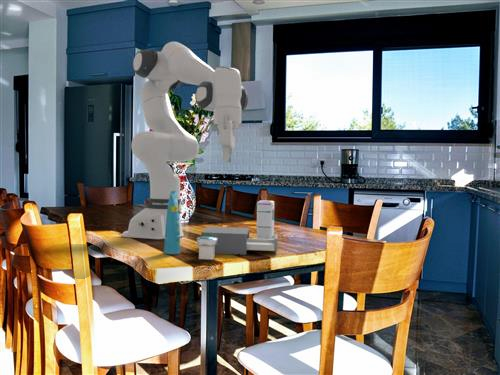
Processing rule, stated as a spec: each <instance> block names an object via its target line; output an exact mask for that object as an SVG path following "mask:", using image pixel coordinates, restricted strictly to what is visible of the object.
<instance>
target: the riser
mask: <svg viewBox="0 0 500 375" xmlns="http://www.w3.org/2000/svg"><path fill="white" fill-rule="evenodd" d="M215 256H216V254H215V246H200V245H198V260H214V259H215Z"/></svg>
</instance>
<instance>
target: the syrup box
mask: <svg viewBox="0 0 500 375" xmlns="http://www.w3.org/2000/svg"><path fill="white" fill-rule="evenodd" d="M274 238H275V200H259V201H257V202H256V239H274Z"/></svg>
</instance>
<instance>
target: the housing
mask: <svg viewBox="0 0 500 375" xmlns="http://www.w3.org/2000/svg"><path fill="white" fill-rule="evenodd" d="M204 236H210V237H216V238H218V244H217V245H216V246H215V255H217V254H218V255H237V254H240V255H243V256H245V255H247V254H248V251H249V250H246V247H247V238H250V227H236V226H235V227H232V226H231V227H229V226H207V227H206V228H204V229H203V230H202V231H201V232H200V237H204Z"/></svg>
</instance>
